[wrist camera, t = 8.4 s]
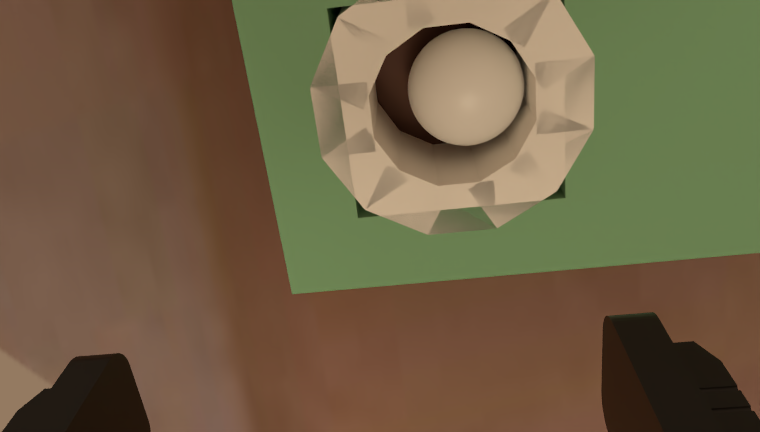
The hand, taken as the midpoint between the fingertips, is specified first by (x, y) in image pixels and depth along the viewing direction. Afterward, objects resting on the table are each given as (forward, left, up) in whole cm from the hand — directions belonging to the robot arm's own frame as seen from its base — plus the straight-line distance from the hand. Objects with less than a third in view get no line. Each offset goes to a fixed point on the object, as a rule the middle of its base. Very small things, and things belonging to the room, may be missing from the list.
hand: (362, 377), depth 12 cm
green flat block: (-8, 0, -19) cm, 21 cm away
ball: (-3, 0, -17) cm, 17 cm away
